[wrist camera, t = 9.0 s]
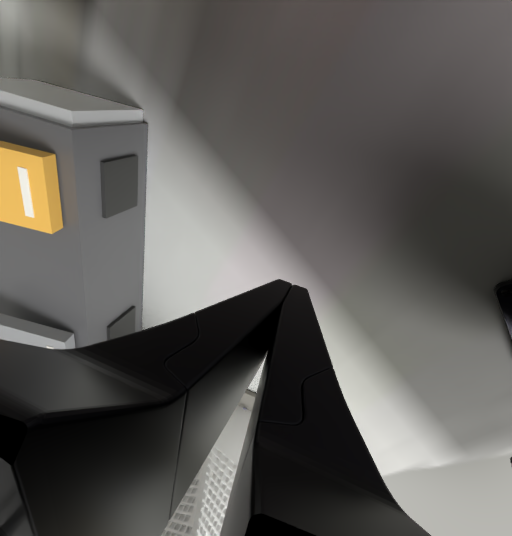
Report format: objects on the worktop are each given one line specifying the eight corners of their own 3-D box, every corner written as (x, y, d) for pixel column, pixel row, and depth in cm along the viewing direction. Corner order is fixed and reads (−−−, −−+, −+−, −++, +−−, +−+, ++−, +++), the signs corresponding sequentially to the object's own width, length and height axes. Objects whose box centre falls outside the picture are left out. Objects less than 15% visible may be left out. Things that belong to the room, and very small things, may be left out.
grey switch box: (152, 112, 22) (75, 114, 16) (143, 348, 33) (95, 397, 27) (30, 78, 24) (-75, 70, 18) (60, 312, 35) (0, 351, 29)
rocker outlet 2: (73, 333, 24) (64, 343, 23) (78, 374, 26) (69, 384, 25) (-27, 305, 24) (-41, 314, 24) (-15, 348, 27) (-27, 357, 26)
